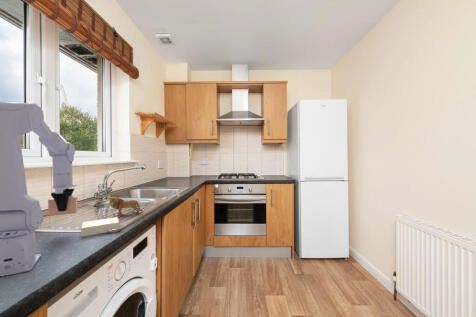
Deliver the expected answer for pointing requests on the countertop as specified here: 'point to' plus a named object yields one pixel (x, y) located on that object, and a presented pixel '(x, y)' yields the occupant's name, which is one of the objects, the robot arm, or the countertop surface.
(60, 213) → the terracotta brick
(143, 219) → the countertop surface
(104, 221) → the cream base brick
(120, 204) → the lion figurine
